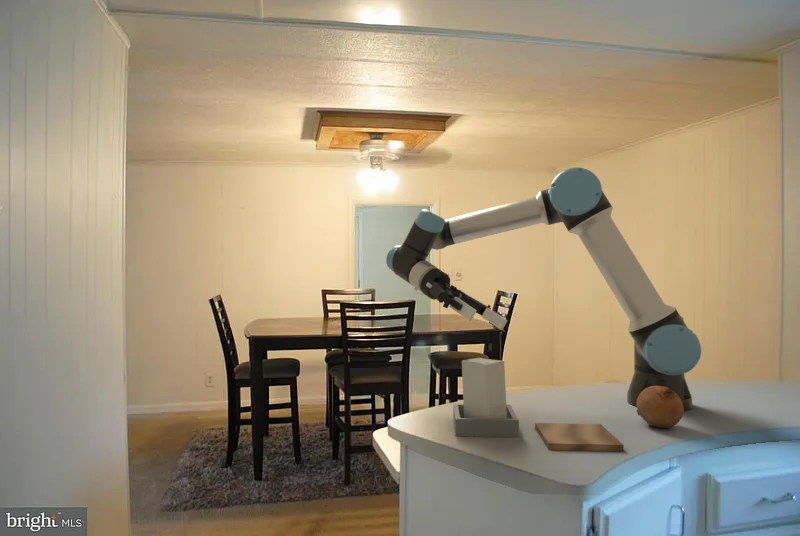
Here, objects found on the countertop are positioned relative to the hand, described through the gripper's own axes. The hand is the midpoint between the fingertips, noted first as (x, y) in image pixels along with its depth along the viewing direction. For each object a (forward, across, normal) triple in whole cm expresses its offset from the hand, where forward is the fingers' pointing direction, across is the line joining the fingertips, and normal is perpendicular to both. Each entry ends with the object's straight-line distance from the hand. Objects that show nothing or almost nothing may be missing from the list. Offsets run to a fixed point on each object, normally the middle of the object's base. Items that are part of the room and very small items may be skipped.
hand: (489, 320), depth 123 cm
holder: (+12, +1, -20) cm, 24 cm away
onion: (+35, -26, -2) cm, 44 cm away
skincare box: (+13, +1, -20) cm, 24 cm away
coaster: (+29, -5, -11) cm, 31 cm away
